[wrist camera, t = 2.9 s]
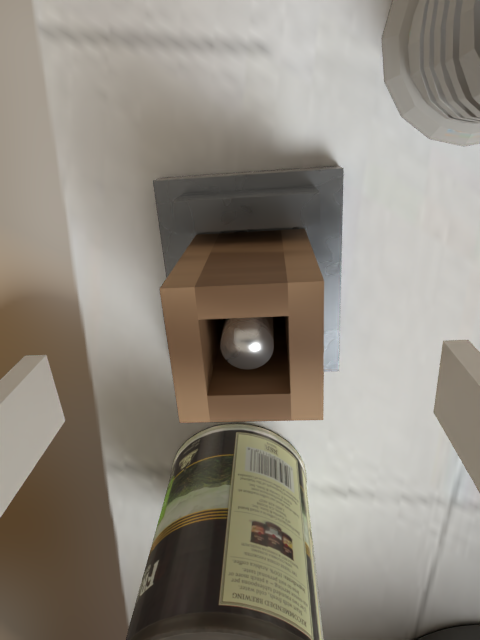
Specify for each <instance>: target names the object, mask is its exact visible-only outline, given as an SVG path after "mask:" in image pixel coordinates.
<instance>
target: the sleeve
mask: <svg viewBox="0 0 480 640" xmlns="http://www.w3.org/2000/svg"><path fill="white" fill-rule="evenodd" d="M160 295H161V302H162V308H163V315H164V322H165V328H166V335H167V342H168V349H169V355H170V362H171V369H172V375H173V382H174V389H175V395H176V402H177V409H178V415H179V422H180V423H194V422H241V421H288V420H323V380H324V279H323V276H322V274H321V271H320V268H319V266H318V263H317V260H316V257H315V255H314V252H313V249H312V247H311V244H310V241H309V239H308V236H307V233H306V230H305V229H289V230H271V231H253V232H235V233H218V234H200V235H196V236H195V237H194V239H193V240H192V242H191V243H190V245H189V246H188V247H187V249H186V250H185V252H184V253H183V255H182V256H181V258H180V259H179V261H178V262H177V264H176V265H175V267H174V268H173V270H172V271H171V273H170V274H169V276H168V277H167V279H166V280H165V281H164V283H163V284H162V286H161V287H160ZM252 317H273V333H274V350H273V354H272V356H271V358H270V359H269V360H268V361H267V362H266V363H265V364H264V365H262V366H261V367H259V368H256V369H249V370H246V369H240V368H237V367H235V366H233V365H231V364H230V363H229V362H228V361H227V360H226V359H225V358H224V356H223V354H222V352H221V347H220V343H221V338H222V333H223V329H224V324H225V320H226V319H227V318H252Z"/></svg>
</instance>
